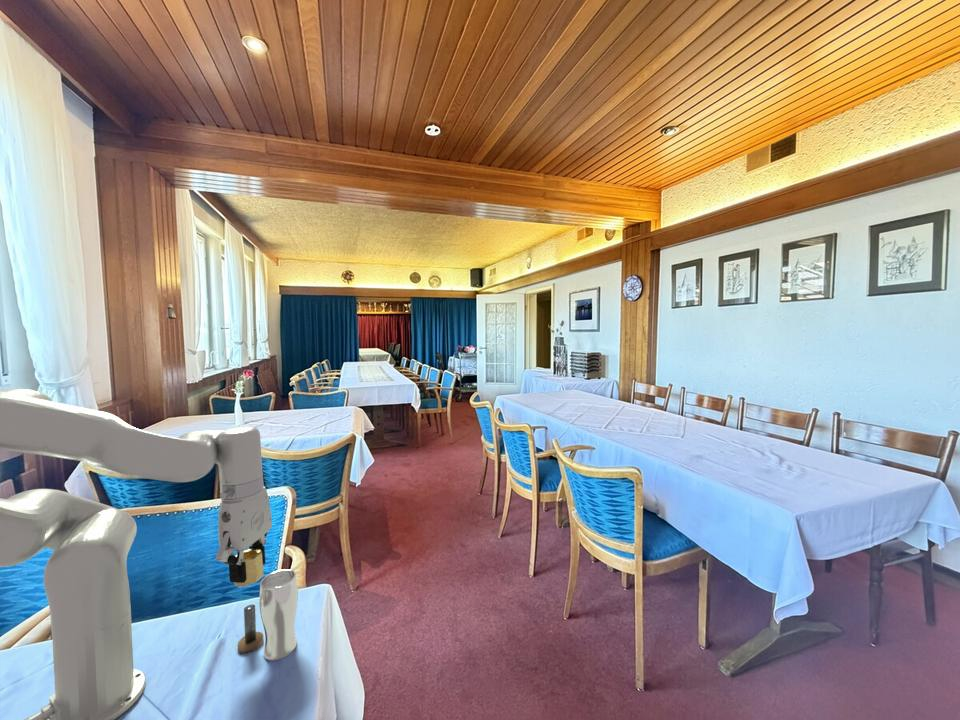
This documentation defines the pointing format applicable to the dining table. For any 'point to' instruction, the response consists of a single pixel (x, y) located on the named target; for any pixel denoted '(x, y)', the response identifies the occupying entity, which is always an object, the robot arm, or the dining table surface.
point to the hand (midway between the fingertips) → (248, 571)
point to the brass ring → (252, 566)
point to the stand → (250, 632)
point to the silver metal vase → (279, 613)
